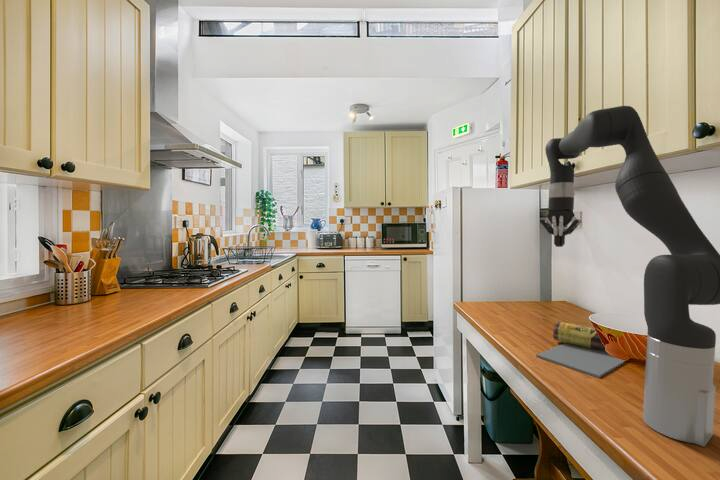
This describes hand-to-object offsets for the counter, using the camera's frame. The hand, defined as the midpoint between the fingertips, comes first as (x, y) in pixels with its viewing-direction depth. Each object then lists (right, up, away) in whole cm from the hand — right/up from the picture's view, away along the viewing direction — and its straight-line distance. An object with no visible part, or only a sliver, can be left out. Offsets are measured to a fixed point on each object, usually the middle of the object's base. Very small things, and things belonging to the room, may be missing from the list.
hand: (559, 246), depth 116 cm
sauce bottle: (-6, -28, -6) cm, 29 cm away
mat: (-4, -32, -19) cm, 38 cm away
